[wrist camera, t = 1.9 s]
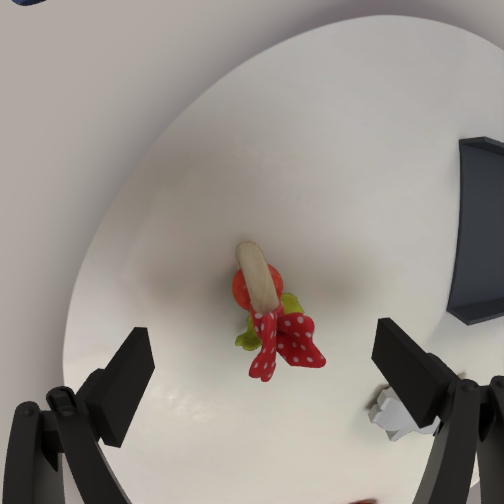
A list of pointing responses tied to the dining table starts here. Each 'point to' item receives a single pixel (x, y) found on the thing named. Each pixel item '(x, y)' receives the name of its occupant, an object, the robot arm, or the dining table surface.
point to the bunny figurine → (396, 416)
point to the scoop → (480, 233)
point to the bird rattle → (271, 316)
